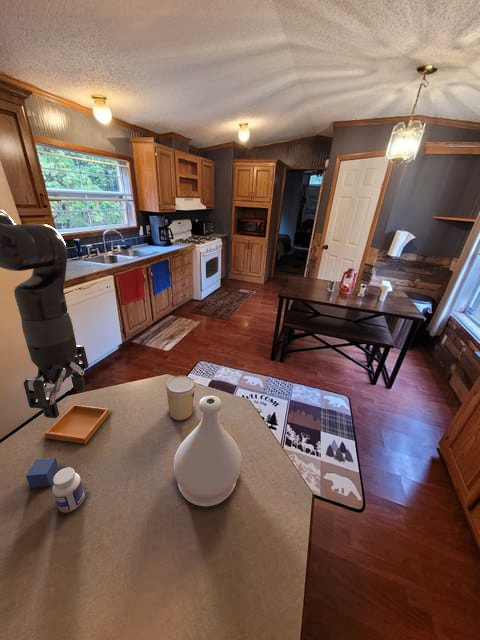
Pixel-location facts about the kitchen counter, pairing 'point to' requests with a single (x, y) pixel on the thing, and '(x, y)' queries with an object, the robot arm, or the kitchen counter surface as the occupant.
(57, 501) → the pill bottle
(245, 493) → the kitchen counter surface
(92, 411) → the amber tray
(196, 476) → the vase
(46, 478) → the blue block
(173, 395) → the cream upright cylinder
